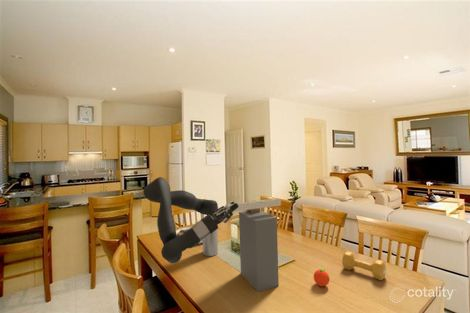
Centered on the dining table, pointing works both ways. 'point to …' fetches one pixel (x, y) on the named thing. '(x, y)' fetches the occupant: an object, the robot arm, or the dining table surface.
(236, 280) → the dining table surface
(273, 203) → the rod
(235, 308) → the dining table surface
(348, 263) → the dumbbell
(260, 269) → the stand
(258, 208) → the walnut block
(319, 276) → the tomato
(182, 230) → the bowl
